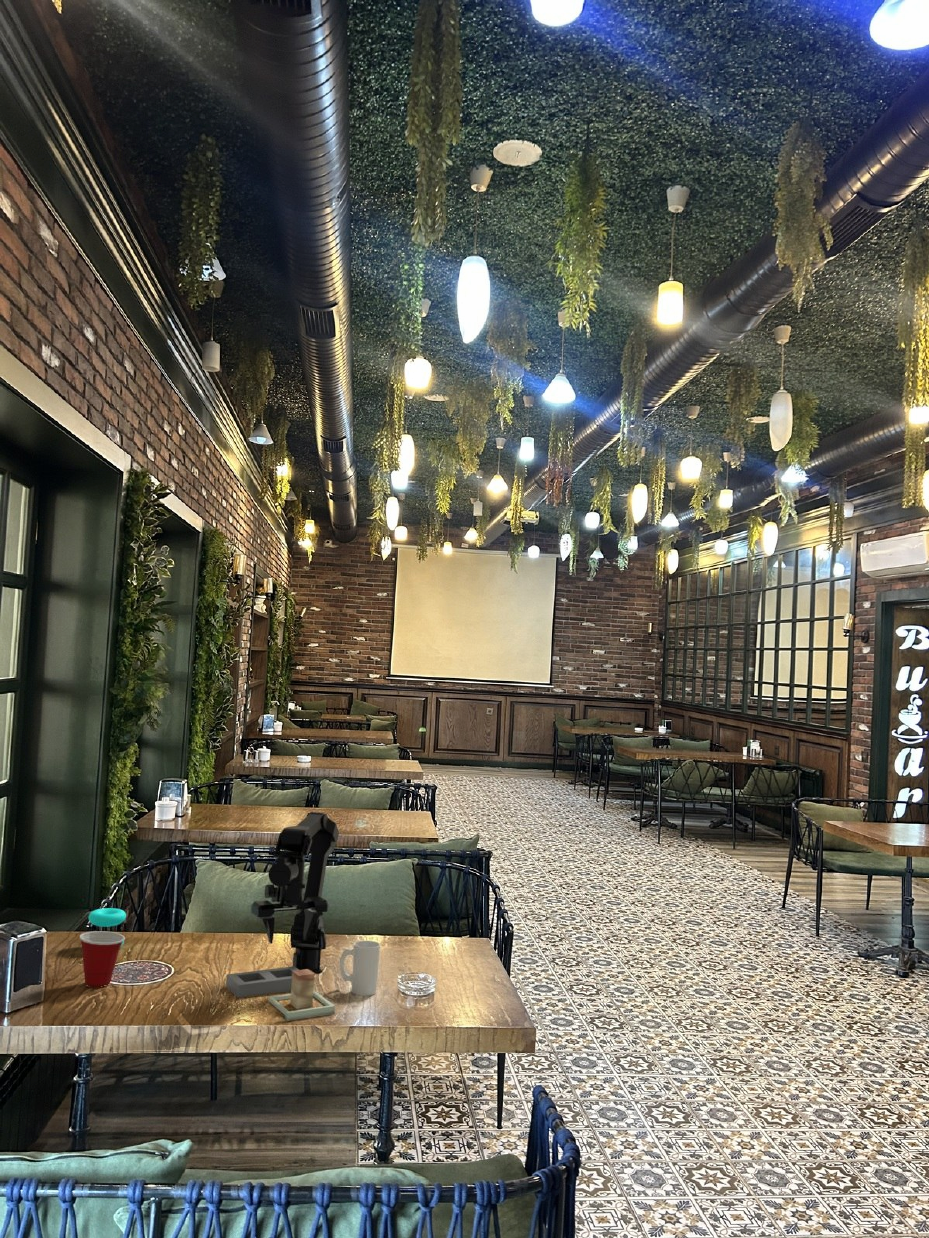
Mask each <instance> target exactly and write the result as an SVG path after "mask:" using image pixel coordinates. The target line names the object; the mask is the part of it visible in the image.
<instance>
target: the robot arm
mask: <svg viewBox="0 0 929 1238" xmlns="http://www.w3.org/2000/svg"><path fill="white" fill-rule="evenodd" d="M339 835H340V834H339V828H338V826H337V823H336V822H334V821H333V820H332V819H331V818H329V816H328V815H327V813H325V812H322V811H321V812H318V811H310V812H308V813H307V815H306V817H304V818H303V819H302V820H301V821H300V822H299V823H298V824H296V825H292V826H287V827H284V828H283V829H281V832H279V835H278V837H277V842H276V845H275V848H274V851H273V858H277V859H276V863H274V864H273V865H271V866H270V868H269V870H268V880H269V881H270V883H271V884H266V885H265V886H264V898H265V899H271V902H270V901H269V900H258V901H254V902H252V904H251V909H250V913H251V914H253V916H254V915H255V917H257V918H259V919H260V920H261V921H262V923H263V926H264V928H265V932H266V935H267V939H268V943H269V944H273V941H274V932H275V920H276V918H275V916H273V915H274V914H275V912H285V911H286V912H287V911H288V912H289V911H299V910H300V911H299V912H298V913H296V914H295V915H294V918H293V924H292V926H291V927H290V948H291V949H295V951H294V952H293V956H292V966H295V967H296V968H297V969H299V970H304V969H309V970H310V971H311V972H313V973H314V974H316V973H317V974H319V973H322V972H323V969H322V968H321V956H322V950H326V949H327V943H328V942H327V938H328V937H327V935H326V932H325V929H324V919H323V917H322V916H323V915H324V913H326V912H329V903H328V901H327V899H325V898H323V897H322V895H323V890H324V889H323V887H324V882H325V875H326V870H327V863H328V862H327V861H328V858H329V856H331V854H332V853H333V851H335V847H336V843H337V842H338V841H339ZM309 853H310V860H309V866H308V872H307V879H306V884H305V883H304V876H305V864H306V863H305V862H306V859H305V858H306V857H307V856H308V855H309ZM304 889H305V892H304ZM303 892H304V895H303ZM303 896H304V897H303Z"/></svg>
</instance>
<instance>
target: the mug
mask: <svg viewBox="0 0 929 1238" xmlns="http://www.w3.org/2000/svg"><path fill="white" fill-rule="evenodd" d="M380 950H381V943H379V942H377V941H373V940H358V941H355V942H354V943H353V949H350V947H349V948H348V947H345V948H344V951H343V952H342V954H341V956H340V959H339V970H340V974H341V976H342V979H343V981H345V982H347V981H348V982H351V993H352V994H353V995H356V996H360V997H367V996H368V997H370V996H373V995H376V993H377V987H378V986H377V985H378V979H379V978H378V977H379V976H378V975H379V963H380V952H381V951H380ZM349 955H350V956H352V959H353V960H352V973H351V974H348V973H347V972H346V970H345V966H344V963H345V959H346V958H347V956H349Z"/></svg>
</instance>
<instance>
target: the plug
mask: <svg viewBox="0 0 929 1238" xmlns="http://www.w3.org/2000/svg"><path fill="white" fill-rule="evenodd" d="M315 974H316V973H314V972H312V971H311V970H309V969H304V970H296V971H292V985H291V991H290V994H291V999H289V1000H290V1001H289V1003H290V1004H291V1006H293V1007H294V1008H295V1009H296V1010H300V1009H307V1008H313V1003H314V1002H313V1000H314V996H313V991H315V990H314V989H315V987H314V986H315Z"/></svg>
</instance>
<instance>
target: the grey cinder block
mask: <svg viewBox="0 0 929 1238" xmlns="http://www.w3.org/2000/svg"><path fill="white" fill-rule="evenodd" d="M296 970H299V969H297V968H296V967H295V966H293V965H292V966H286V967H277V968H269V969H268V968H267V969H262V970H261V969H260V970H252V971H245V972H237V973H236V972H235V973H228V974H226V980H225V981H226V982H225V988H227V989H228V990H229V991H230V992H231V993H232V994H233V995H234V996H235V997H237V998H238V999H239V998H241V999H242V998H248V997H249V998H250V997H255V996H264V995H270V994H278V993H286V992H291V985H292V971H296Z"/></svg>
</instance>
